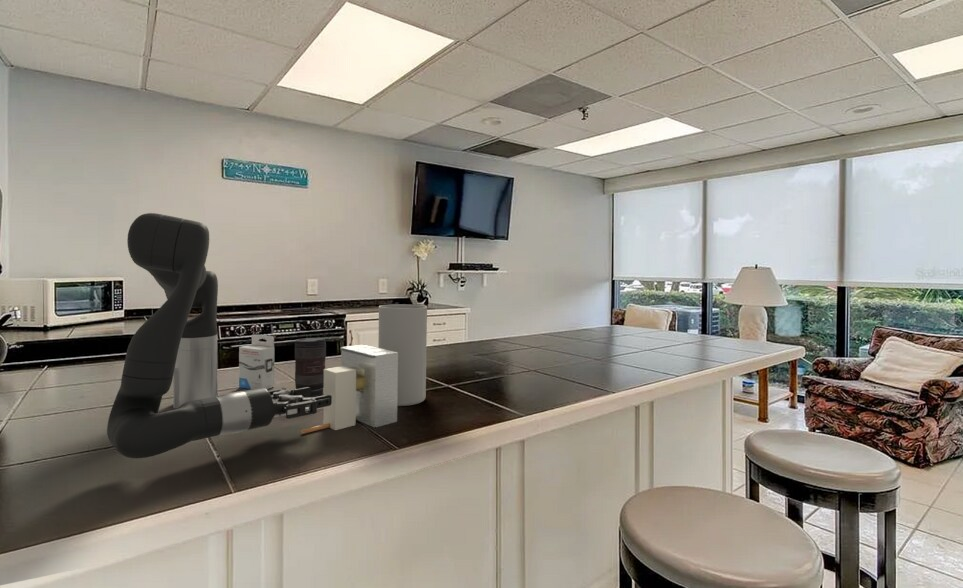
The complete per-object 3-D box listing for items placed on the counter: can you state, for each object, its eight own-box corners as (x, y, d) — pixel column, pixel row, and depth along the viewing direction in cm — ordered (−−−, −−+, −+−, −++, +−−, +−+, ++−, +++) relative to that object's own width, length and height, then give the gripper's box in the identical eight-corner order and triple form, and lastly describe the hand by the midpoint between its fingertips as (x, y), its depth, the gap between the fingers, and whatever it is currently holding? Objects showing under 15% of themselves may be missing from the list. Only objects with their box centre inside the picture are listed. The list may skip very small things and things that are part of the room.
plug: (306, 437, 98) (306, 377, 98) (295, 431, 102) (295, 373, 101) (392, 415, 114) (392, 363, 113) (379, 410, 117) (380, 360, 117)
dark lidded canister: (330, 390, 135) (330, 337, 135) (318, 397, 127) (318, 342, 127) (303, 388, 136) (303, 336, 135) (289, 396, 128) (289, 340, 127)
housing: (372, 428, 105) (373, 355, 104) (338, 413, 114) (339, 347, 113) (397, 421, 110) (397, 352, 109) (362, 408, 119) (363, 344, 118)
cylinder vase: (368, 399, 127) (369, 305, 125) (405, 391, 136) (407, 303, 135) (397, 410, 118) (398, 309, 117) (435, 400, 127) (436, 307, 126)
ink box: (238, 388, 136) (237, 336, 135) (251, 384, 140) (251, 334, 139) (262, 391, 133) (261, 338, 132) (275, 387, 137) (275, 336, 137)
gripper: (257, 399, 86) (338, 384, 98) (227, 384, 95) (304, 372, 107) (257, 440, 86) (338, 420, 98) (227, 421, 96) (304, 405, 108)
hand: (320, 395), depth 103 cm, fingers open, 8 cm apart
